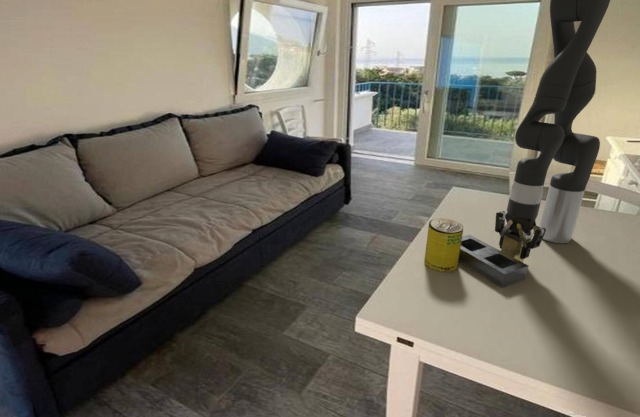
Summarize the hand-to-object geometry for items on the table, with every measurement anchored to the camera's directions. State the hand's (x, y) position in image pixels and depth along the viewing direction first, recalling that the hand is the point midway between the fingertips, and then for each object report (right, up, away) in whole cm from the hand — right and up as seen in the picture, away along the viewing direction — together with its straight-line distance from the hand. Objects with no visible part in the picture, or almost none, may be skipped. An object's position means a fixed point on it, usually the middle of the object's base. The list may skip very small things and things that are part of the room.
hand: (512, 252), depth 107 cm
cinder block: (-9, -3, -1) cm, 10 cm away
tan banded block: (0, -2, +1) cm, 3 cm away
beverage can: (-20, -3, 0) cm, 21 cm away
